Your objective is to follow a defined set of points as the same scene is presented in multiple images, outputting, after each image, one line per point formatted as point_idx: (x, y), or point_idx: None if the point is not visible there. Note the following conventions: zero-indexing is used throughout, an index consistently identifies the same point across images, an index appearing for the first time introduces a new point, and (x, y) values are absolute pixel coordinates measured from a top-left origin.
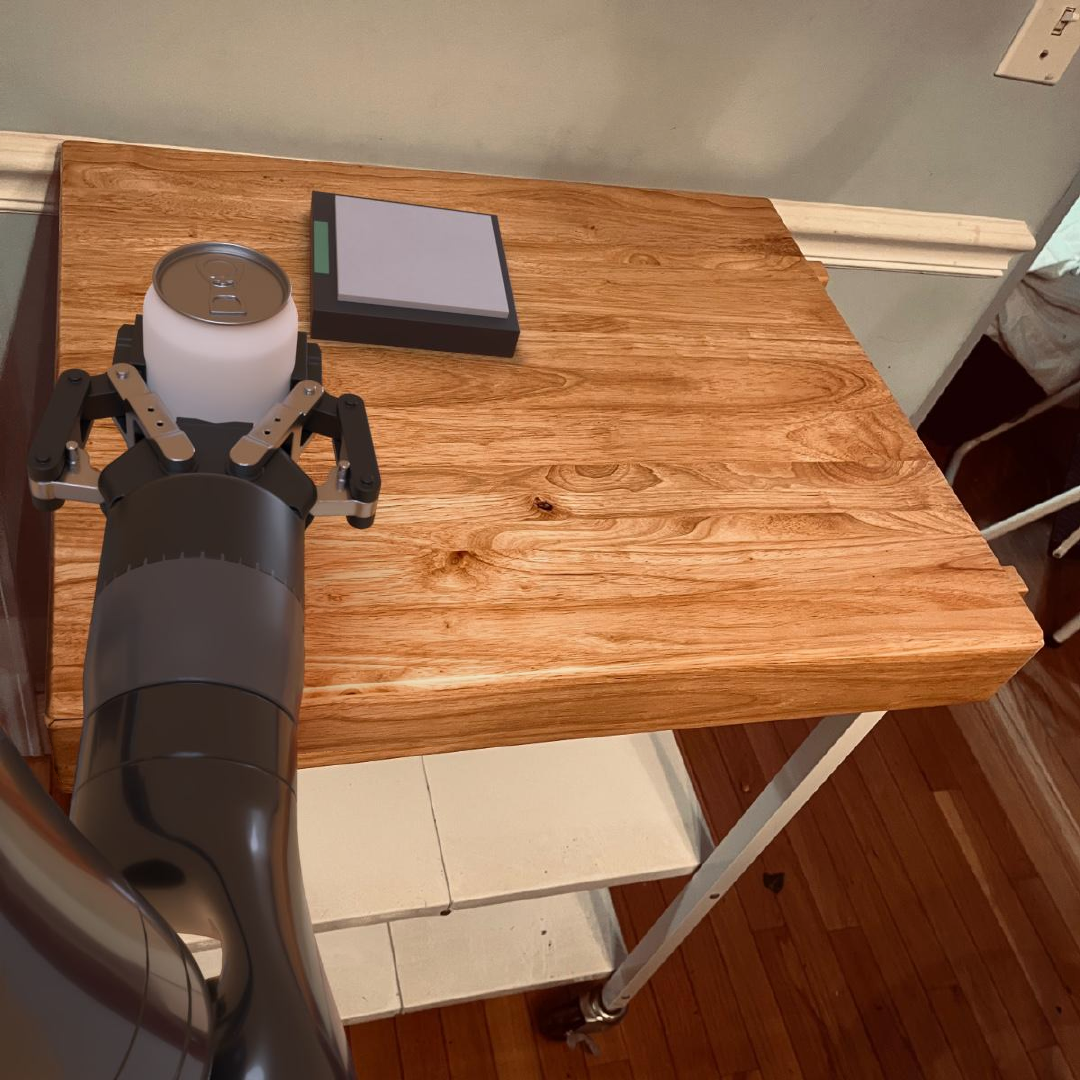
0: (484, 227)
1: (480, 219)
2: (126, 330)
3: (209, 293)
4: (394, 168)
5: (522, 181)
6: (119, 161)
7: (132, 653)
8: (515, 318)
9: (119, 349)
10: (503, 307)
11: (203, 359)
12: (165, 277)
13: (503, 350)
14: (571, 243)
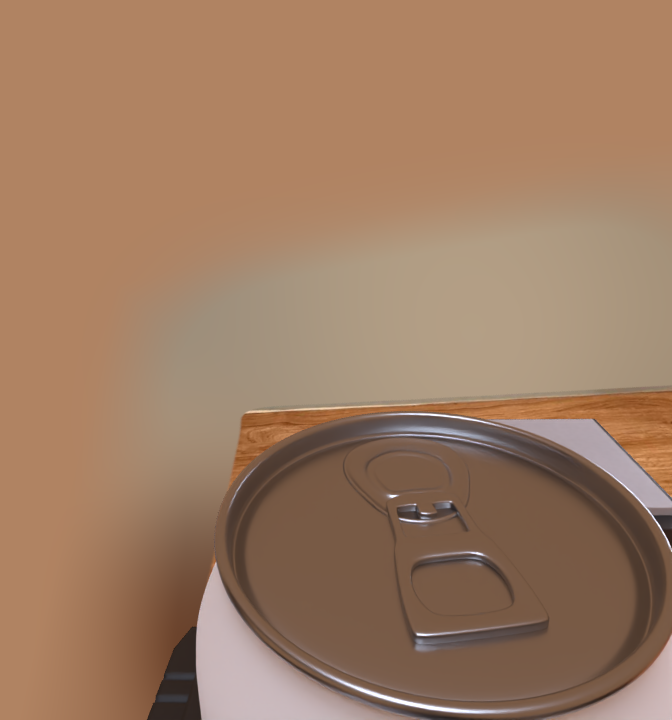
0: (593, 428)
1: (585, 422)
2: (192, 647)
3: (393, 550)
4: (482, 401)
5: (587, 397)
6: (275, 422)
7: None
8: None
9: (159, 717)
10: (668, 503)
11: None
12: (261, 512)
13: None
14: (663, 437)
